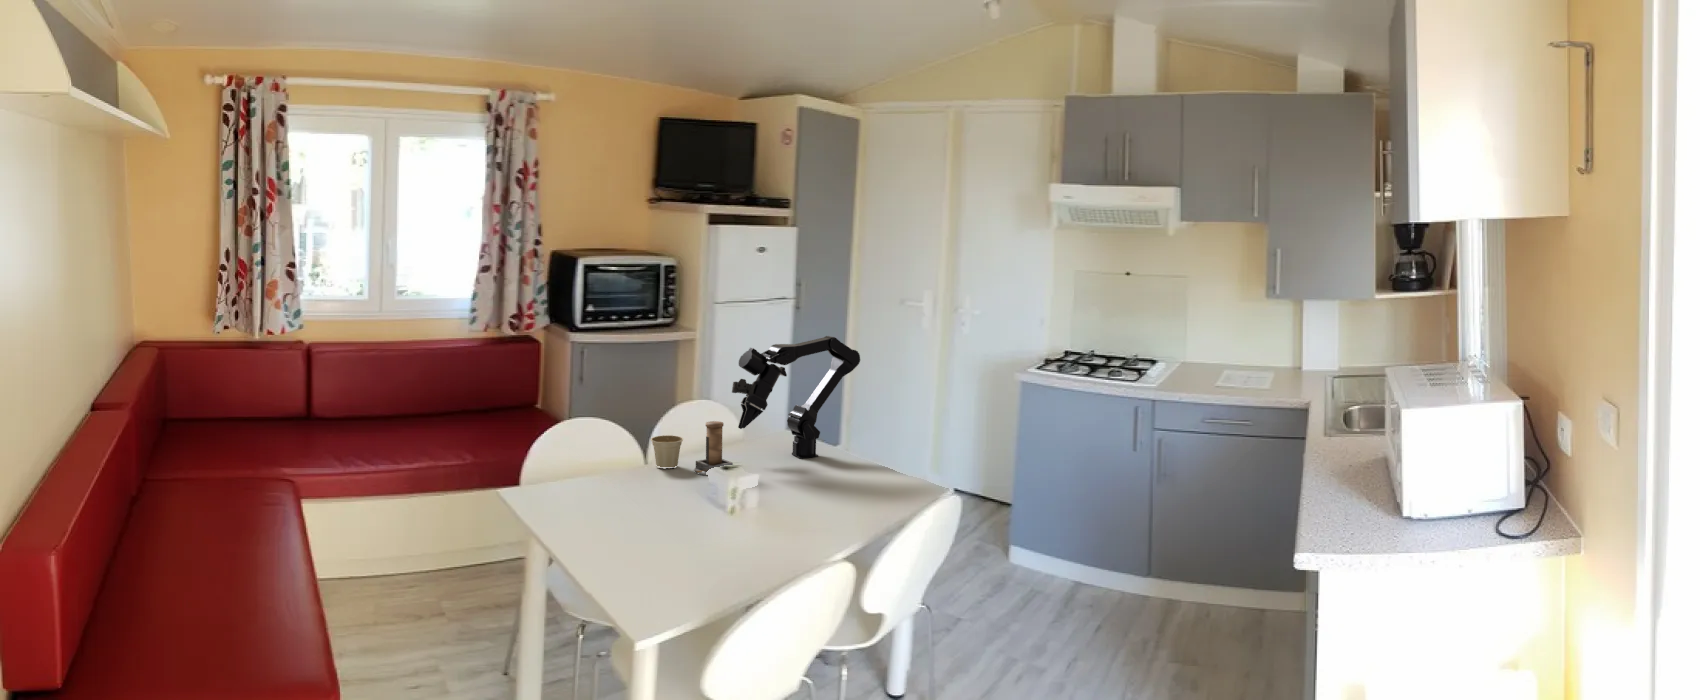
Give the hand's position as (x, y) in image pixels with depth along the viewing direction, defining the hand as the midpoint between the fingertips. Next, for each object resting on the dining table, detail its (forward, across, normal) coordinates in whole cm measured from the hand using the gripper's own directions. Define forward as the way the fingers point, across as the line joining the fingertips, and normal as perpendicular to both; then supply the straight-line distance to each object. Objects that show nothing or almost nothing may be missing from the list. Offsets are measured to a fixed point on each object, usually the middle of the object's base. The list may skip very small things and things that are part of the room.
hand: (740, 428), depth 309 cm
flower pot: (+21, -2, -14) cm, 25 cm away
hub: (+15, +4, -1) cm, 16 cm away
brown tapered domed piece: (+14, +4, -2) cm, 15 cm away
